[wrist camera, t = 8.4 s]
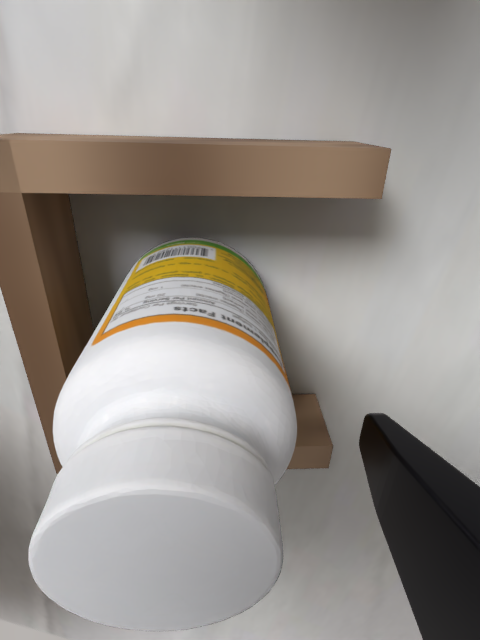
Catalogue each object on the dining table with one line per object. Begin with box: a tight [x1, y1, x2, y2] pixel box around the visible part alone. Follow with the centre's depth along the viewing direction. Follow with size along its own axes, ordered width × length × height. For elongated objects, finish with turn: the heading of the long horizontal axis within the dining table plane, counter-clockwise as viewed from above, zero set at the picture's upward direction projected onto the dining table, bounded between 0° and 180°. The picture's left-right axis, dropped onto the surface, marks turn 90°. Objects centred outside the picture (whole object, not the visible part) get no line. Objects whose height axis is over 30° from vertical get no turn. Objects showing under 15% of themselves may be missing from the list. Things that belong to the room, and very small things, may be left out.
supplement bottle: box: [28, 238, 297, 631], centre depth 10 cm, size 5×5×10 cm
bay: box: [0, 133, 391, 473], centre depth 13 cm, size 10×11×3 cm
